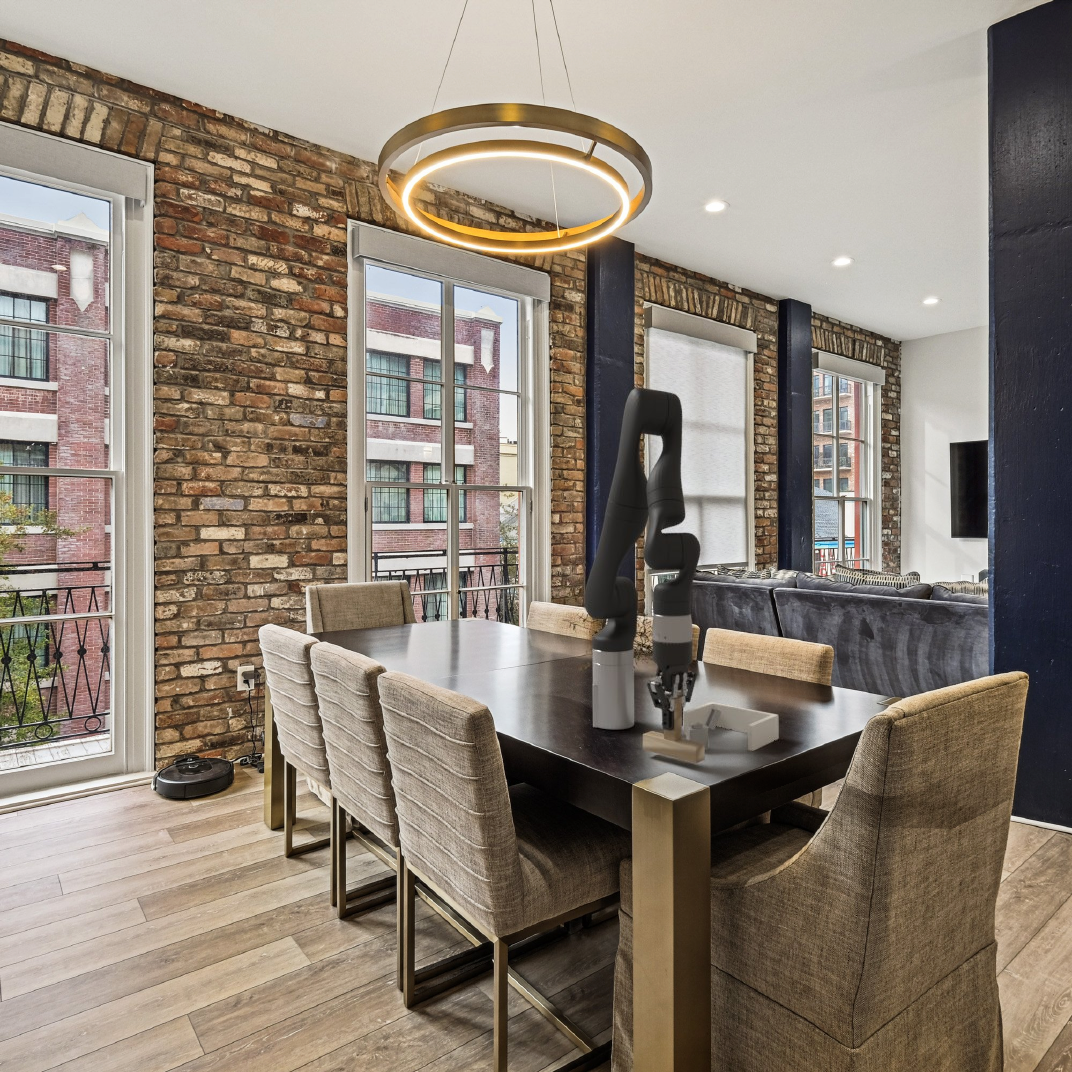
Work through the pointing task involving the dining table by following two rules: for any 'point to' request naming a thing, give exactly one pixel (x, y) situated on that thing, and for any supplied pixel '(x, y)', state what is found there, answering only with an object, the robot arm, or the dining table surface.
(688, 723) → the box
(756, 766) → the dining table surface
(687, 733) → the lighter
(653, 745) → the wooden t-shaped post
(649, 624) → the dried plant
